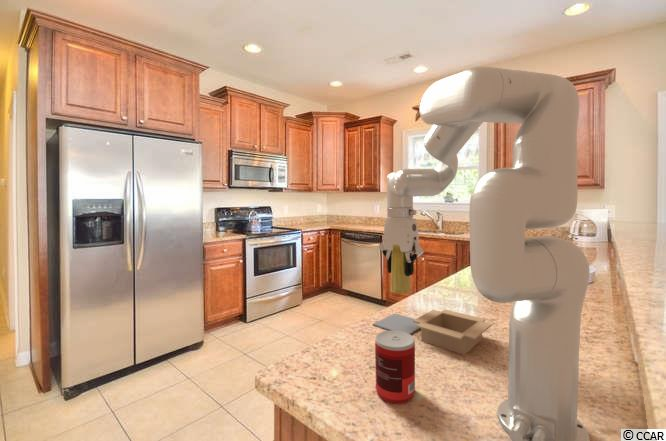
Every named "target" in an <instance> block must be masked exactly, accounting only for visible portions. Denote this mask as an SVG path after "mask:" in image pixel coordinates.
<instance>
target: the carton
mask: <svg viewBox="0 0 666 441" xmlns="http://www.w3.org/2000/svg"><path fill="white" fill-rule="evenodd" d="M414 319H415V320H413V322H415V323H419V324H418V325H416V327H418V328H421V329H420V331H421V335H420V336H421V337H420V338H421V339H420V340H421V342H424V343H427V344H429V345H433V346H436V347H439V348H442V349H445V350H448V351H451V352H455V353H456V354H460V355H464V356H465V355H466V354H467V353H469V351H471V350H472V349H473V348H474V347H476V346H477V344H479V343H480V342H481V341H482V340H483V334H484V333H485V332H486V331H487V330H489V329H490V328H491V327H492V326H493V323H489V322H486V318H483V317H479V316H474V315H471V314H467V313H462V312H457V311H453V310H449V309H444V310H441V311H440V310H437V309H432V310H429V311H428V312H425V314H422V315H420V316H419V317H417V318H414Z"/></svg>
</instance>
